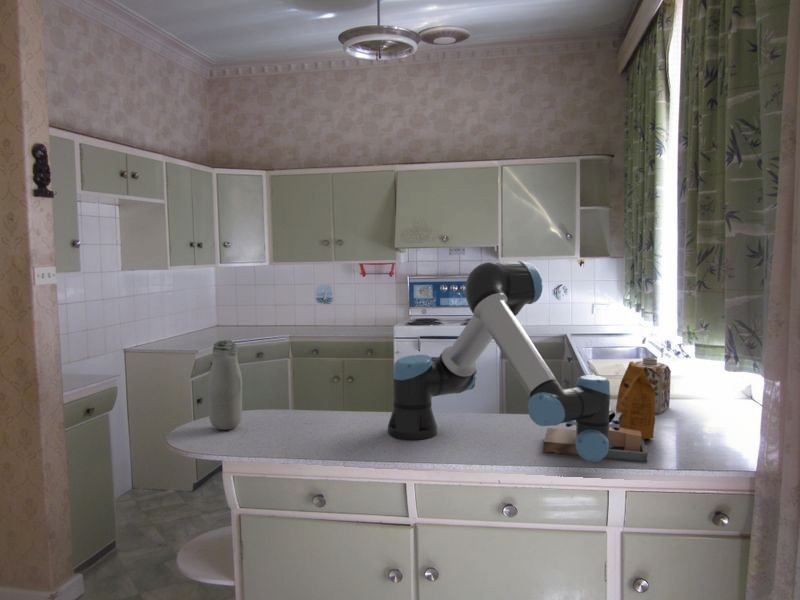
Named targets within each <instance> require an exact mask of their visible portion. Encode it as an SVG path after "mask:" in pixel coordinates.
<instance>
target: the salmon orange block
mask: <svg viewBox="0 0 800 600" xmlns="http://www.w3.org/2000/svg"><path fill="white" fill-rule="evenodd" d="M641 437H642V436H641V431H637V430H631V429H626V436H625V445H624V450H625V451H636V452H640V446H641Z"/></svg>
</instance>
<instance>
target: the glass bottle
mask: <svg viewBox="0 0 800 600" xmlns="http://www.w3.org/2000/svg"><path fill="white" fill-rule="evenodd" d="M212 356H213V357H212V361H211V366H210V371H209V374H208V379H207V394H208V416H209V417H208V418H209V420H210V421H209V422H210V423H211V426H212V427H214V428H215V429H217V430H219V431H229V430H233V429H235V428H237V427H238V426H239V425H240V423H241V421H242V415H243V376H242V372H241V368H240V364H239V361H238V360H239V359H238V346H237V344H236V343H235V342H234V341H232V340H227V339H226V340H225V339H224V340H219V341H216V342H215V343H213V348H212Z"/></svg>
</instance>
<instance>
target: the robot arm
mask: <svg viewBox="0 0 800 600" xmlns="http://www.w3.org/2000/svg"><path fill="white" fill-rule="evenodd" d="M543 287H544V286H543V279H542V274H541V273H540V271H539V269H538V268H537V267H536V266H535V265H534V264H533V263H530V262H527V261H526V262H525V261H520V260H518V261H504V262H503V261H502V262H501V261H500V262H492V261H490V262H484V263H481V264H479V265H477V266H476V267H474V268H473V269H472V270H471V271H470V273H469V274H468V276H467V279H466V282H465V287H464V294H465V299H466V301H467V305H468V307H469V309H470V311H471V312H472V314H473V315H472V316H471V318H470V319H469V321H468V322H467V324H465V327H464V328H463V330H462V331H461V332H460V334H459V336H458V337H457V339H456V340H455V342H454V343H453V345H450V346H447V347H444V349H443V350H442V352H441V353H440V354H439V356H438V357H437V358H432V357H431V356H429V355H427V354H416V355H413V354H412V355H411V354H410V355H407V356H403V357H400V358H399V359H397V360H396V361H395V362H394V364H393V373H392V378H393V409H392V412H391V415H390V419H389V421H388V425H387V434H388V435H389V436H391V437H393V438H396V439H400V440H409V441H412V440H414V441H415V440H425V439H431V438H432V437H435V436H437V435H438V424H437V421H436V418H435V415H434V412H433V410H432V409H433V408H432V401H433V400H432V398H433V397H439V396H446V395H453V394H461V393H463V392H466V391H469V390H470V389H472V387H473V386H474V384H475V383H476V379H477V377H476V375H477V372H478V371H477V365H476V364H477V363H476V362H477V361H478V360H479V358H480V357H481V355H482V354H483V352H485V350H486V349H487V347H488V345H489V344H490V343H491V342H492V340H494V342H495V344H496V345H497V347H498V348H499V350H500V352H501V354H503V356H504V358H505V360H506V362H507V363H508V364H509V366H510V367H511V369H512V370H513V373H514V374H515V375H516V377H517V379H518V380H519V382H520V383H521V385H522V386H523V388H524V390H525V391H526V393H527V395H528V396H529V400H528V402H527V410H528V411H529V412H528V415H529V417H530V419H531V420H532V422H533V423H534V424H536V425H538V426H540V427H549V426H550V427H551V426H552V427H554V426H559V425H561V424H565V427H567V428H570V427H573V426H574V425H575V429H576V440H575V446H576V449H577V452H578V454H579V455H578V456H580V458H582V459H583V460H585V461H587V462H591V463H593V462H594V463H595V462H599V461H602V460H604V457H605V456H606V455H607V453H608V450H609V427H612V429H614V430H616V431H618V430H619V425H620V423H621V421H622V413H621V412H617V414H616V411H615V410H613V409H611V405H610V403H611V402H610V400H611V390H610V389H611V386H610V380H609V379H608V378H606V377H605V376H602V375H601V376H600V375H593V374H590V375H589V374H588V375H587V374H586V375H580V376H579V377H578V378H577V381H576V386H575V387H569V388H568V387H567V388H563V386H562V385H561V383H560V382H559V381H558V379H557V378H556V376H555V375H554V373H553V372H552V370H551V369H550V367H549V366H548V364H547V363H546V362H545V360H544V358H543V357H542V355H541V353H540V352H539V351H538V349H537V348H536V346H535V345H534V343H533V341H532V340H531V339H530V337H529V335H528V334H527V332H526V330H525V329H524V328H523V327H522V325H521V323H520V322H519V320H518V319H517V317H516V316H517V315H518V314H519V313H520V312H521V311H522V310H523V307H525V305H532V304H534V303H536V302H537V301H539V299H540V298H541V295H542V293H543Z"/></svg>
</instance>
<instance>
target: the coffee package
mask: <svg viewBox="0 0 800 600" xmlns="http://www.w3.org/2000/svg"><path fill="white" fill-rule="evenodd" d="M647 372H648V369H646V368H643V367H637V366H636V364H635V362H634V361H629V364H628V365H627V368H626V370H625V372H624V373H623V374H624V375H623V376H622V379H621V381H620V385H619V386H618V387H619V388H618V393H617V397H616V398H617V399H616V400H617V401H616V405H615V413H616V414H617V412H621V413H622V421H621V423H620V425H619V428H625V430H626V429H631V430H637V431H641V436H642V437H641V438H643V439H644V440H650V439H654V429H655V424H656V417H655V413H654V412H655V391H654V389H653V387H652V385H651V384H650V382H649V380H648V379H647V377H646V375H645V373H647Z"/></svg>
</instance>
